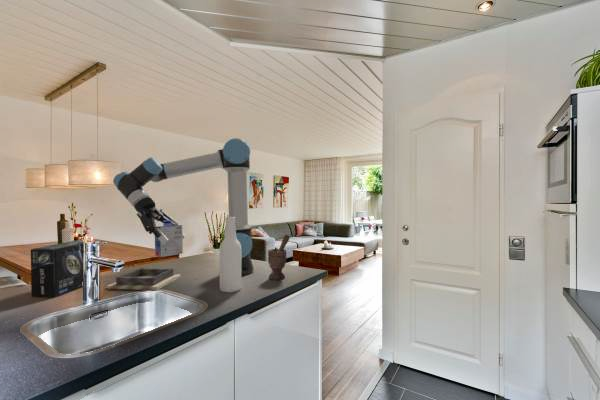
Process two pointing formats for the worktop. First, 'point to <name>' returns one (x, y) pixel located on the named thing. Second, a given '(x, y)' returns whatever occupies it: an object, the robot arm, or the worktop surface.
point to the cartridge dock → (145, 279)
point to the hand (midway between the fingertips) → (174, 240)
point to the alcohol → (230, 259)
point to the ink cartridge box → (169, 240)
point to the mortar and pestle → (278, 260)
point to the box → (56, 269)
